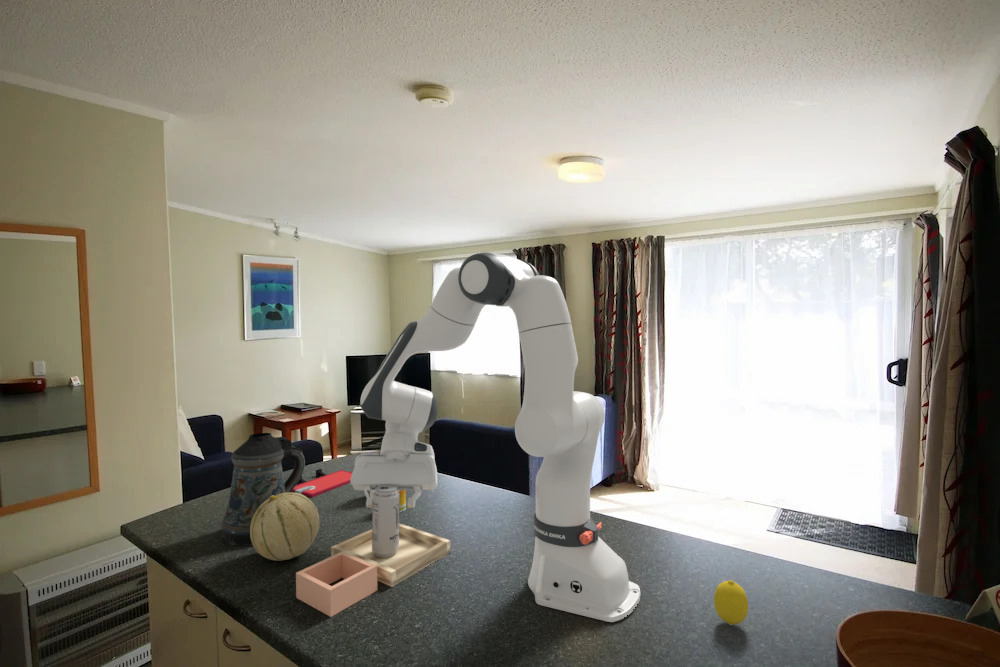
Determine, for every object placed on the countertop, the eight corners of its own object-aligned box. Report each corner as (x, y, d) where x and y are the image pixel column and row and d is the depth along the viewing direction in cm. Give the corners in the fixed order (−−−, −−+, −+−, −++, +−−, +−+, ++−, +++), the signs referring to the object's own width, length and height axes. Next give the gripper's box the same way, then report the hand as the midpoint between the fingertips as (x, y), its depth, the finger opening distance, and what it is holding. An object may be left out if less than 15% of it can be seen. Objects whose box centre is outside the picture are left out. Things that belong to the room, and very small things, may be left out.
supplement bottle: (408, 506, 146) (407, 473, 146) (402, 513, 141) (402, 479, 141) (390, 506, 147) (389, 473, 147) (384, 513, 142) (383, 479, 141)
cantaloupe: (333, 552, 118) (331, 489, 118) (274, 579, 106) (273, 509, 106) (295, 537, 127) (294, 478, 126) (237, 561, 114) (235, 495, 114)
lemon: (738, 615, 93) (738, 572, 92) (754, 634, 87) (754, 588, 87) (708, 616, 92) (708, 573, 92) (722, 635, 87) (723, 589, 87)
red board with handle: (258, 497, 155) (291, 507, 148) (258, 488, 155) (291, 497, 148) (333, 472, 181) (364, 479, 174) (333, 464, 181) (364, 471, 174)
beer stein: (205, 540, 125) (203, 440, 124) (265, 511, 143) (263, 424, 142) (258, 550, 120) (256, 445, 119) (313, 518, 138) (312, 428, 137)
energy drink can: (396, 558, 113) (397, 492, 112) (369, 558, 112) (370, 491, 112) (400, 546, 119) (401, 483, 118) (374, 546, 118) (375, 483, 118)
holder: (377, 590, 102) (377, 565, 102) (330, 616, 93) (330, 590, 93) (343, 574, 108) (342, 551, 108) (296, 597, 99) (295, 572, 99)
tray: (450, 553, 118) (450, 540, 117) (391, 587, 103) (391, 572, 103) (391, 532, 129) (391, 520, 129) (331, 560, 115) (331, 546, 114)
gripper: (353, 446, 122) (341, 500, 113) (438, 445, 122) (432, 500, 113) (359, 459, 127) (348, 512, 117) (440, 458, 127) (435, 512, 117)
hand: (390, 506), depth 115 cm, fingers open, 8 cm apart
